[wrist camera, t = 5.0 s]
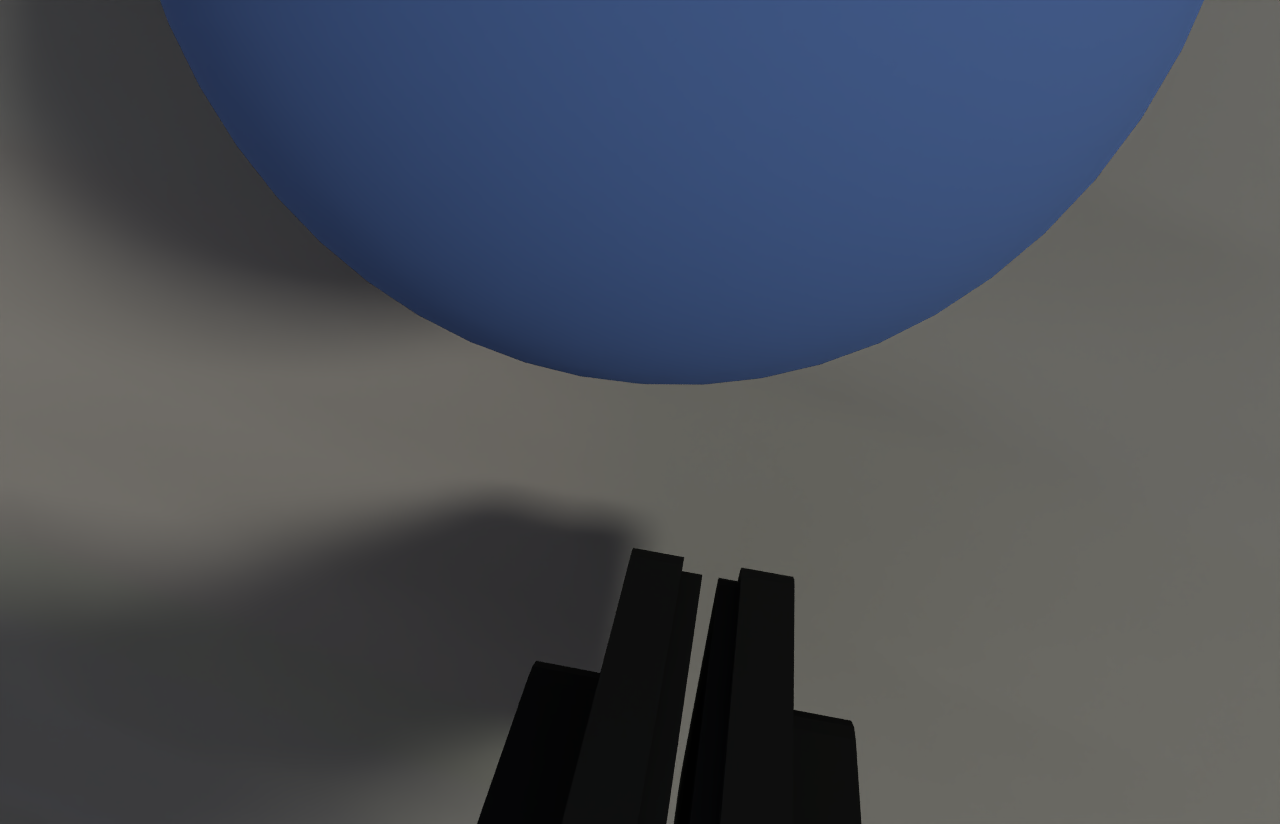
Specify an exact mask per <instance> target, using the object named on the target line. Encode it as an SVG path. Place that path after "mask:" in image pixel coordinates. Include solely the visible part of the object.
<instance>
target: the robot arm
mask: <svg viewBox="0 0 1280 824" xmlns="http://www.w3.org/2000/svg"><path fill="white" fill-rule="evenodd" d="M683 561H684V557H680V556H674V555H669V554H663V553H658V552H652V551H647V550H641V549H635V548H633V550H632V553H631V556H630V560H629V564H628V568H627V572H626V576H625V580H624V584H623V587H622V591H621V595H620V599H619V603H618V607H617V611H616V615H615V618H614V622H613V626H612V630H611V634H610V638H609V642H608V646H607V649H606V653H605V657H604V661H603V665H602V669H601V673H597V672H592V671H587V670H581V669H576V668H571V667H565V666H560V665H555V664H550V663H544V662H539V661H536V662H535V664H534V665H533V667H532V669H531V672H530V674H529V677H528V679H527V682H526V685H525V688H524V691H523V694H522V697H521V699H520V702H519V705H518V708H517V711H516V714H515V717H514V719H513V722H512V725H511V728H510V731H509V734H508V737H507V740H506V742H505V745H504V748H503V751H502V754H501V757H500V760H499V762H498V765H497V768H496V771H495V774H494V777H493V780H492V782H491V785H490V788H489V791H488V794H487V797H486V800H485V803H484V805H483V808H482V811H481V814H480V817H479V820H478V823H477V824H666V822H667V816H668V809H669V802H670V795H671V788H672V781H673V774H674V767H675V760H676V753H677V746H678V739H679V732H680V726H681V719H682V712H683V705H684V698H685V691H686V684H687V677H688V670H689V663H690V656H691V649H692V642H693V636H694V629H695V622H696V615H697V608H698V601H699V594H700V587H701V580H702V575H700V574H695V573H689V572H684V571H682V567H683ZM674 824H861V812H860V796H859V781H858V766H857V751H856V738H855V731H854V726H853V724H852V722H851V721H850V720H844V719H839V718H834V717H828V716H823V715H818V714H813V713H807V712H802V711H797V710H794V578H793V577H790V576H785V575H779V574H774V573H768V572H763V571H757V570H752V569H746V568H741V570H740V574H739V578H738V581H733V580H728V579H722V578H719V579H718V583H717V588H716V593H715V598H714V603H713V608H712V614H711V619H710V624H709V629H708V635H707V640H706V645H705V650H704V656H703V661H702V666H701V671H700V677H699V682H698V687H697V692H696V698H695V703H694V708H693V713H692V719H691V724H690V729H689V734H688V739H687V745H686V750H685V755H684V760H683V766H682V772H681V778H680V784H679V790H678V797H677V804H676V811H675V819H674Z"/></svg>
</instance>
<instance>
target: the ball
mask: <svg viewBox="0 0 1280 824" xmlns="http://www.w3.org/2000/svg"><path fill="white" fill-rule="evenodd" d="M160 1H161V4H162V7H163V9H164V12H165V15H166V17H167V20H168V23H169V25H170V27H171V29H172V31H173V33H174V35H175V37H176V39H177V41H178V43H179V45H180V47H181V49H182V51H183V53H184V56H185V58H186V60H187V62H188V64H189V66H190V68H191V70H192V72H193V74H194V76H195V78H196V80H197V82H198V84H199V86H200V88H201V89H202V91H203V93H204V94H205V96H206V97H207V99H208V101H209V102H210V104H211V105H212V107H213V109H214V110H215V112H216V113H217V115H218V117H219V118H220V120H221V121H222V123H223V125H224V126H225V128H226V129H227V131H228V133H229V134H230V136H231V137H232V139H233V140H234V142H235V144H236V145H237V147H238V148H239V149H240V150H241V152H242V153H243V154H244V155H245V157H246V158H247V159H248V161H249V162H250V163H251V164H252V166H253V167H254V168H255V170H256V171H257V172H258V173H259V175H260V176H261V177H262V178H263V180H264V181H265V182H266V184H267V185H268V186H269V187H270V189H271V190H272V191H273V193H274V194H275V195H276V196H277V198H278V199H279V200H280V201H281V202H282V203H283V204H284V205H285V206H286V207H287V208H288V209H289V210H290V211H291V212H292V213H293V214H294V215H295V216H296V217H297V218H298V219H299V220H300V221H301V222H302V223H303V224H304V225H305V226H306V227H307V229H308V230H309V231H310V232H311V233H312V234H313V235H314V236H315V237H316V238H317V239H318V240H319V241H320V242H321V243H322V244H323V245H325V246H326V247H327V248H328V249H329V250H331V251H332V252H333V253H334V254H335V255H337V256H338V257H339V258H340V259H341V260H343V261H344V262H345V263H346V264H347V265H349V266H350V267H351V268H352V269H353V270H355V271H356V272H357V273H358V274H359V275H361V276H362V277H363V278H364V279H365V280H367V281H368V282H369V283H371V284H372V285H374V286H375V287H377V288H378V289H380V290H381V291H383V292H384V293H386V294H387V295H389V296H390V297H392V298H393V299H395V300H396V301H398V302H399V303H401V304H402V305H404V306H405V307H407V308H408V309H410V310H411V311H413V312H414V313H416V314H417V315H419V316H421V317H423V318H425V319H427V320H429V321H431V322H433V323H435V324H437V325H439V326H441V327H443V328H445V329H447V330H448V331H450V332H452V333H454V334H456V335H458V336H460V337H462V338H464V339H466V340H468V341H470V342H472V343H475V344H478V345H480V346H483V347H486V348H488V349H491V350H494V351H496V352H499V353H502V354H504V355H507V356H510V357H512V358H515V359H518V360H520V361H523V362H526V363H530V364H534V365H538V366H542V367H546V368H550V369H554V370H558V371H562V372H566V373H570V374H574V375H578V376H584V377H592V378H599V379H607V380H615V381H623V382H631V383H639V384H712V383H721V382H730V381H739V380H748V379H757V378H764V377H768V376H772V375H777V374H781V373H785V372H790V371H794V370H798V369H802V368H807V367H811V366H815V365H820V364H823V363H825V362H828V361H831V360H834V359H836V358H839V357H842V356H845V355H847V354H850V353H853V352H856V351H858V350H861V349H864V348H867V347H869V346H872V345H875V344H878V343H880V342H882V341H884V340H886V339H888V338H890V337H892V336H894V335H896V334H898V333H900V332H902V331H904V330H906V329H908V328H910V327H912V326H914V325H916V324H918V323H920V322H922V321H924V320H926V319H928V318H930V317H932V316H934V315H936V314H937V313H939V312H940V311H942V310H943V309H945V308H946V307H948V306H949V305H951V304H952V303H954V302H955V301H957V300H958V299H960V298H961V297H963V296H964V295H966V294H967V293H969V292H971V291H972V290H974V289H975V288H977V287H978V286H980V285H981V284H983V283H984V282H986V281H987V280H989V279H990V278H992V277H993V276H994V275H995V274H996V273H998V272H999V271H1000V270H1001V269H1002V268H1004V267H1005V266H1006V265H1007V264H1008V263H1010V262H1011V261H1012V260H1013V259H1014V258H1016V257H1017V256H1018V255H1019V254H1020V253H1021V252H1023V251H1024V250H1025V249H1026V248H1027V247H1029V246H1030V245H1031V244H1032V243H1033V242H1035V241H1036V240H1037V239H1038V238H1039V237H1041V236H1042V235H1043V234H1044V233H1045V232H1046V231H1047V230H1048V229H1049V228H1050V227H1051V226H1052V225H1053V224H1054V223H1055V222H1056V221H1057V220H1058V218H1059V217H1060V216H1061V215H1062V214H1063V213H1064V212H1065V211H1066V210H1067V209H1068V208H1069V207H1070V206H1071V205H1072V204H1073V203H1074V202H1075V201H1076V199H1077V198H1078V197H1079V196H1080V195H1081V194H1082V193H1083V192H1084V191H1085V190H1086V189H1087V188H1088V187H1089V186H1090V185H1091V184H1092V183H1093V182H1094V180H1095V179H1096V178H1097V177H1098V175H1099V174H1100V173H1101V171H1102V170H1103V169H1104V167H1105V166H1106V165H1107V163H1108V162H1109V161H1110V159H1111V158H1112V157H1113V155H1114V154H1115V153H1116V151H1117V150H1118V149H1119V147H1120V146H1121V145H1122V143H1123V142H1124V141H1125V139H1126V138H1127V137H1128V135H1129V134H1130V133H1131V131H1132V130H1133V129H1134V127H1135V126H1136V125H1137V123H1138V122H1139V121H1140V119H1141V118H1142V116H1143V115H1144V113H1145V111H1146V110H1147V108H1148V106H1149V104H1150V103H1151V101H1152V99H1153V98H1154V96H1155V94H1156V93H1157V91H1158V89H1159V87H1160V86H1161V84H1162V82H1163V81H1164V79H1165V77H1166V76H1167V74H1168V72H1169V70H1170V69H1171V67H1172V65H1173V64H1174V62H1175V60H1176V59H1177V57H1178V55H1179V53H1180V52H1181V50H1182V48H1183V46H1184V44H1185V42H1186V39H1187V37H1188V35H1189V33H1190V30H1191V28H1192V26H1193V24H1194V21H1195V19H1196V17H1197V14H1198V12H1199V10H1200V8H1201V5H1202V3H1203V1H1204V0H160Z"/></svg>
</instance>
